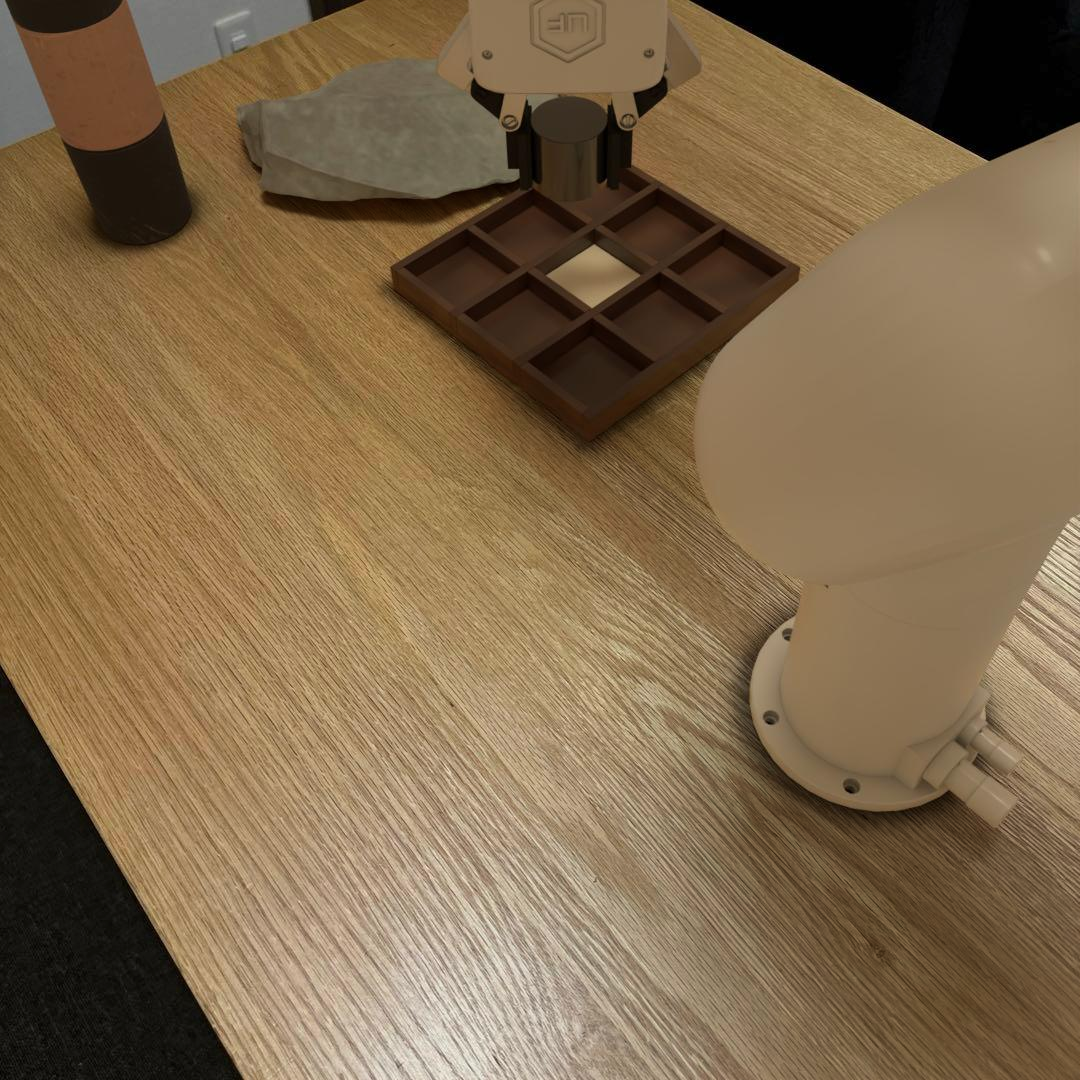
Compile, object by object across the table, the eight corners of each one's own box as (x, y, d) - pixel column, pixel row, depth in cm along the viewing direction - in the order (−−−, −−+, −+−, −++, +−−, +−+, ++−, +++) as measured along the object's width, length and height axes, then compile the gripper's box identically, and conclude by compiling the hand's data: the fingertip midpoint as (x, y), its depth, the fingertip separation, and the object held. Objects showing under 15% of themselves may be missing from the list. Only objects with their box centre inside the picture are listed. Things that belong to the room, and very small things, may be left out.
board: (796, 290, 86) (800, 267, 84) (589, 442, 78) (589, 419, 77) (596, 165, 96) (596, 142, 94) (393, 289, 88) (389, 266, 86)
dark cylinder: (622, 177, 70) (624, 118, 67) (569, 212, 68) (568, 153, 65) (570, 145, 72) (569, 86, 69) (516, 178, 70) (513, 119, 67)
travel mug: (93, 197, 96) (-8, -50, 80) (189, 176, 97) (108, -71, 81) (102, 256, 91) (-3, 7, 75) (201, 234, 92) (119, -16, 76)
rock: (234, 177, 86) (226, 35, 98) (248, 248, 90) (238, 104, 103) (595, 148, 90) (544, 16, 102) (590, 218, 94) (541, 83, 107)
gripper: (377, -109, 53) (421, 218, 68) (756, -115, 53) (717, 216, 68) (393, -186, 58) (431, 137, 73) (743, -192, 57) (709, 135, 72)
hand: (569, 172), depth 70 cm, fingers closed on dark cylinder, 4 cm apart
